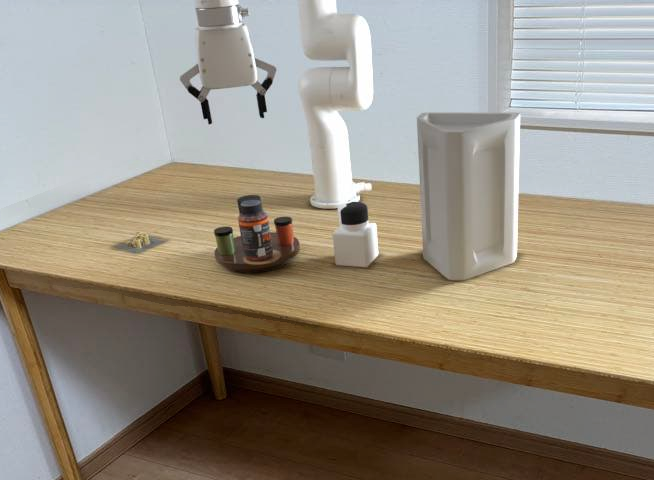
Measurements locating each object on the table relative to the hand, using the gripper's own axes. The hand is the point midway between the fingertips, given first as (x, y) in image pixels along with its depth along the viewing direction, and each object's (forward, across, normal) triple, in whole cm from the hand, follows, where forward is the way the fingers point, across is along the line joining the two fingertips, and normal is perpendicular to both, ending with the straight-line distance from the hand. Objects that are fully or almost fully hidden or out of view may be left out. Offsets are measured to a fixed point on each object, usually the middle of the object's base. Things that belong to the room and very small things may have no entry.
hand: (236, 119), depth 143 cm
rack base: (+30, 0, -6) cm, 31 cm away
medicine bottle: (+31, -20, +2) cm, 37 cm away
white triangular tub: (+31, -40, +13) cm, 52 cm away
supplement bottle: (+27, 0, 0) cm, 27 cm away
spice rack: (+28, 0, -6) cm, 29 cm away
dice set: (+31, +26, -27) cm, 48 cm away
